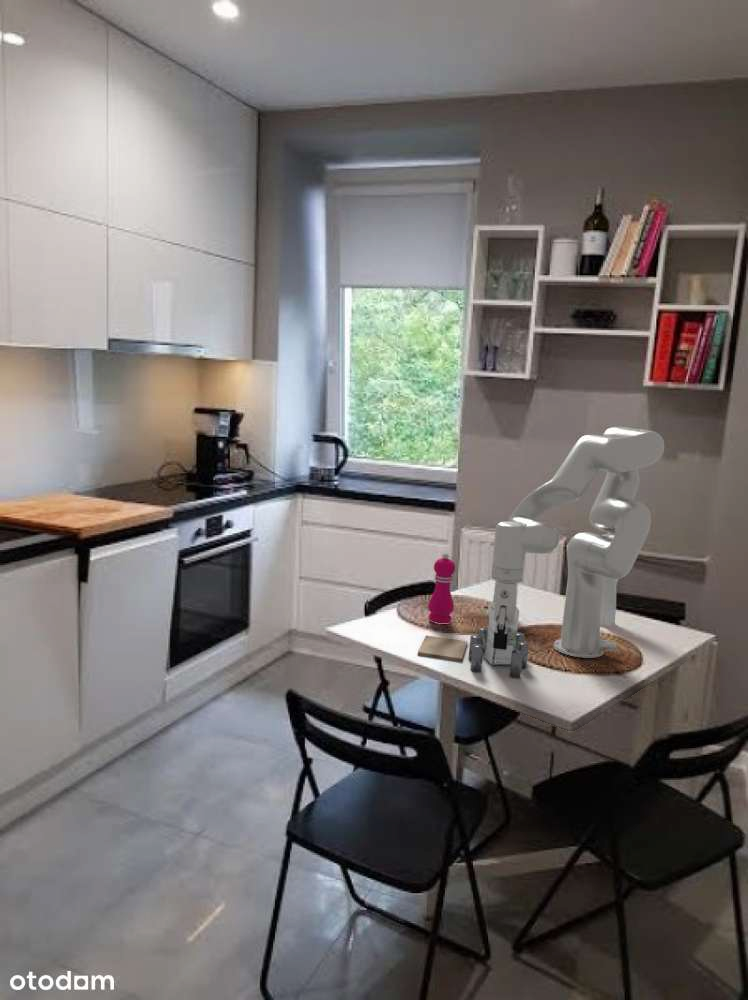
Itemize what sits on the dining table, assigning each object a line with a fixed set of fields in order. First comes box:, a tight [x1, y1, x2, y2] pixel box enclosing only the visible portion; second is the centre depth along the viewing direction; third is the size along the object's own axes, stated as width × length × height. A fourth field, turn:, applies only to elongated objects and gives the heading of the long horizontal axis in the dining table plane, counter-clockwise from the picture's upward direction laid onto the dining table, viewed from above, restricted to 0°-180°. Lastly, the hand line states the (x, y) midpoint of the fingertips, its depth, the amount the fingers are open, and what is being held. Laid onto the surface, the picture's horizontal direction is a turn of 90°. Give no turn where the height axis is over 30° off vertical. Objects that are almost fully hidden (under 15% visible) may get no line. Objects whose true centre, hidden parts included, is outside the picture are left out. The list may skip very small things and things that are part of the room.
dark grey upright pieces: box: [468, 626, 530, 679], centre depth 185 cm, size 14×16×6 cm
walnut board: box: [417, 635, 468, 662], centre depth 192 cm, size 11×13×1 cm
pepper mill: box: [427, 552, 456, 623], centre depth 213 cm, size 7×7×20 cm
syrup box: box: [484, 601, 520, 666], centre depth 185 cm, size 6×6×14 cm
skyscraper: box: [600, 532, 620, 628], centre depth 222 cm, size 8×8×28 cm
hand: (500, 642), depth 185 cm, fingers closed on syrup box, 7 cm apart
